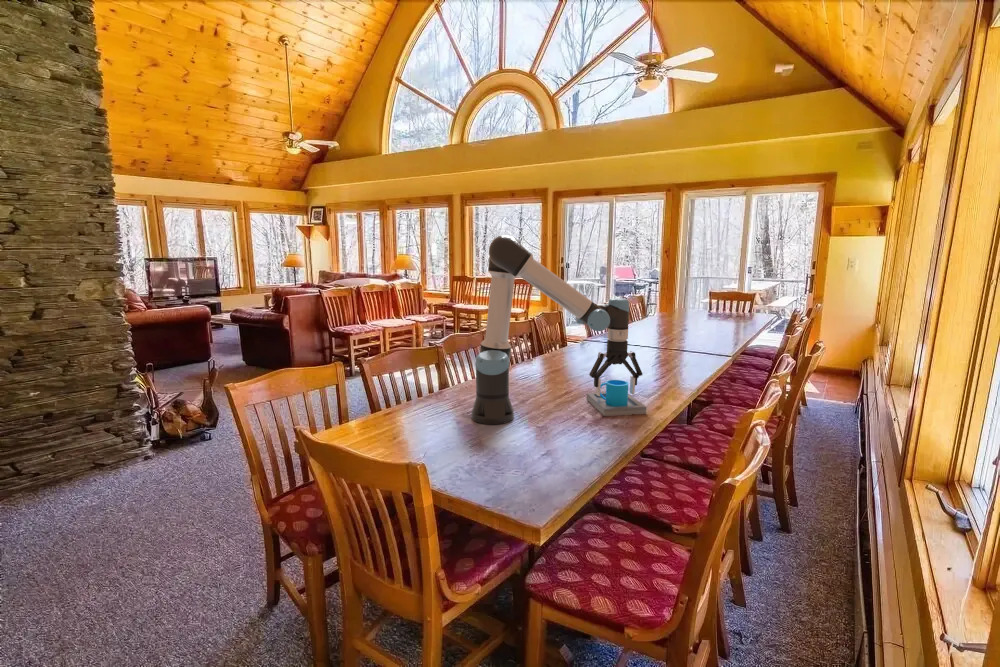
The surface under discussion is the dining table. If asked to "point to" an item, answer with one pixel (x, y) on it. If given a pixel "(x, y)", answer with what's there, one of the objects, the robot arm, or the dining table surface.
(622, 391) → the mug
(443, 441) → the dining table surface
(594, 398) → the tray
